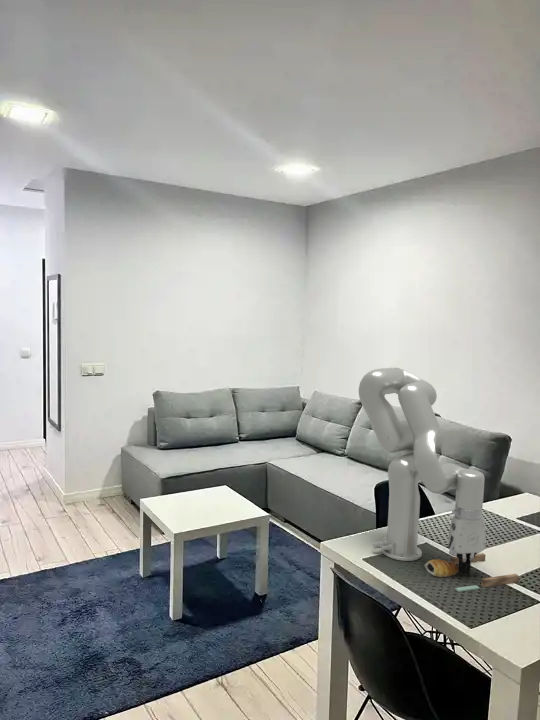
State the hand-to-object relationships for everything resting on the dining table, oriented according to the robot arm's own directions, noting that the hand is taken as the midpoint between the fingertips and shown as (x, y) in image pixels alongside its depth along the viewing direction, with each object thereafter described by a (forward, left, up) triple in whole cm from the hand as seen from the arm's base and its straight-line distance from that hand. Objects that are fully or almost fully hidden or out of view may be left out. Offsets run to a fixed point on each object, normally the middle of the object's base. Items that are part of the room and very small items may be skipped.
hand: (463, 572), depth 166 cm
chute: (+7, 0, -1) cm, 7 cm away
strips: (-5, 0, -1) cm, 5 cm away
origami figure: (+22, +30, -1) cm, 38 cm away
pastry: (-6, +4, -1) cm, 7 cm away
